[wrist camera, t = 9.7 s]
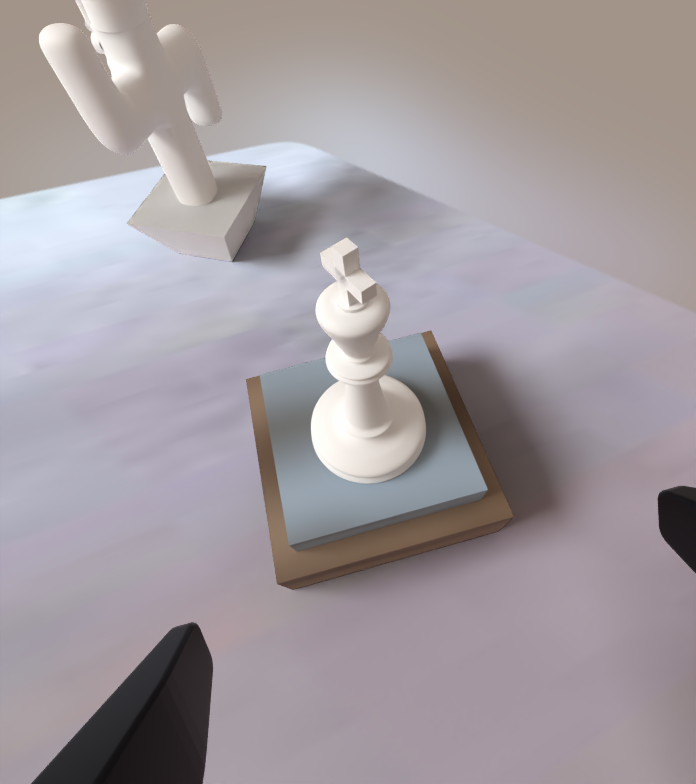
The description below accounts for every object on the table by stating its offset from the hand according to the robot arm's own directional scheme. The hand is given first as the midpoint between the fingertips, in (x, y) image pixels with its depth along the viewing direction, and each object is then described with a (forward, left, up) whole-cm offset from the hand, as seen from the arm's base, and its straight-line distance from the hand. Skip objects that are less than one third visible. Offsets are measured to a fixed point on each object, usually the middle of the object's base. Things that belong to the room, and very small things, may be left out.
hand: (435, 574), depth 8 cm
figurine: (+27, -6, -13) cm, 31 cm away
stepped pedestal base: (+6, -3, -13) cm, 14 cm away
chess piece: (+6, -3, -8) cm, 11 cm away
